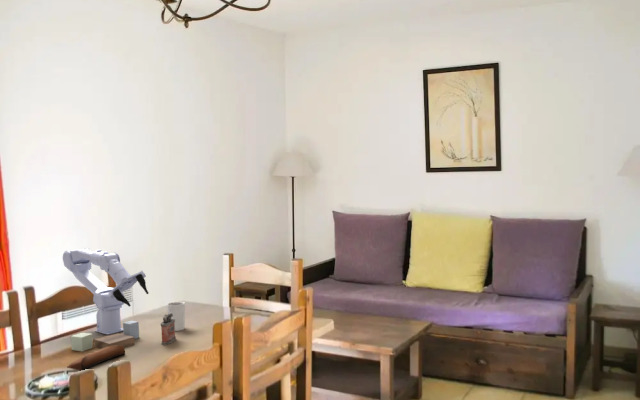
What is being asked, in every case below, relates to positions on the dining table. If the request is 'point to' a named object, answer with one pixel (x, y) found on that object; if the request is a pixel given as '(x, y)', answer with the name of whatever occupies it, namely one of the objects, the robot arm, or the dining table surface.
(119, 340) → the walnut block
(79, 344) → the sage cube
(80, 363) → the brown tapered cylinder
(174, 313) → the white cup
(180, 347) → the dining table surface
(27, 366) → the dining table surface
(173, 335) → the lighter
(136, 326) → the blue block
